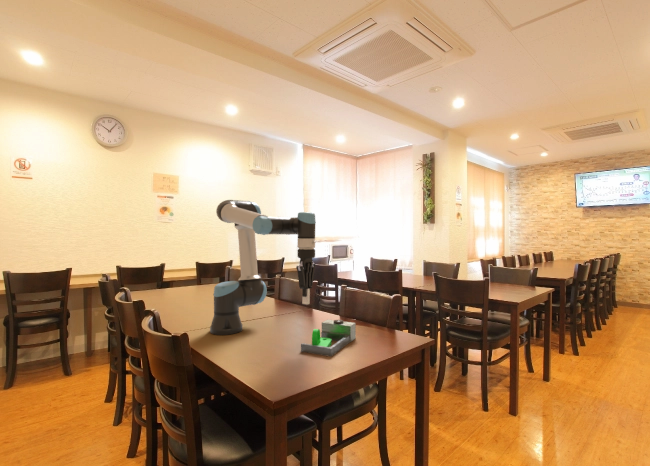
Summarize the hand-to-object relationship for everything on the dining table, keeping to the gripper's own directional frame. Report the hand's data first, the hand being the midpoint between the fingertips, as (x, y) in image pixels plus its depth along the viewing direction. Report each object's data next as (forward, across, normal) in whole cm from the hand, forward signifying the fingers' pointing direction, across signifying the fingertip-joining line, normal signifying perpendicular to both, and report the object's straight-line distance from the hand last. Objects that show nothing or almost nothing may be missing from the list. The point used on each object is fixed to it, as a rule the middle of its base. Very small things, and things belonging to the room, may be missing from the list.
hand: (305, 303), depth 145 cm
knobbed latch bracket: (+17, +4, -10) cm, 20 cm away
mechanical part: (+18, +1, -8) cm, 19 cm away
